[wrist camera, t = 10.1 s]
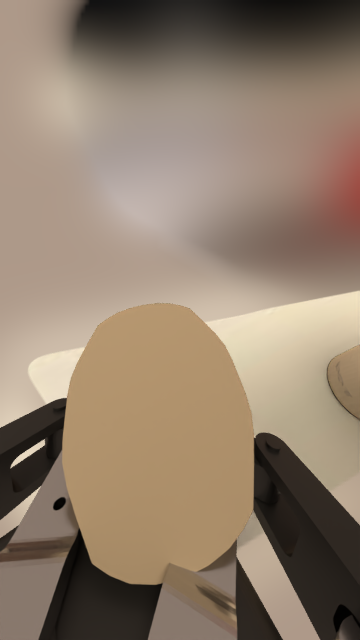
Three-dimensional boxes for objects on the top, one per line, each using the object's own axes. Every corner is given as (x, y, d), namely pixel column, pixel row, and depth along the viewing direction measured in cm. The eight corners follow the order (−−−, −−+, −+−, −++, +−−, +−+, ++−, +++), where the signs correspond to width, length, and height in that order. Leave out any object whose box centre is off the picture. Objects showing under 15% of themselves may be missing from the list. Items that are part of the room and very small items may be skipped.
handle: (190, 384, 20) (205, 293, 7) (207, 456, 16) (302, 535, 4) (145, 395, 19) (75, 317, 6) (154, 472, 16) (42, 629, 3)
